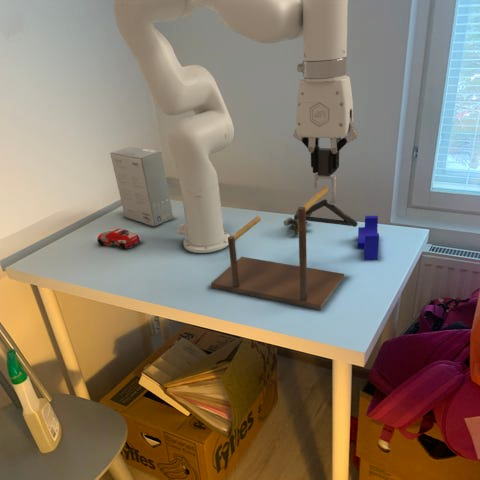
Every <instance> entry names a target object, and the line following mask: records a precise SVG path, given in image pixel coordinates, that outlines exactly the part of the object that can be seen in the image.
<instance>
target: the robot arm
mask: <svg viewBox="0 0 480 480" xmlns="http://www.w3.org/2000/svg"><path fill="white" fill-rule="evenodd" d="M200 7H204V8H205V9H207V10H210V11H212V12H214V13H216V14H217V16H218V18H219V20H221V22H222V23H223V24H224V25H225V26H226V27H227V28H228V29H230V30H231V31H233V32H234V33H236V34H239V35H241V36H243V37H246V38H247V39H250V40H252V41H253V42H257V43H261V44H267V45H269V44H276V43H280V42H285V41H290V40H296V39H299V38H303V60H302V62H301V63H298V64H297V65H296V71H297V72H298V73H302V76H303V77H304V78H302V79H300V80H299V84H298V90H297V98H296V99H297V100H296V109H295V111H296V112H295V129H294V132H293V135H292V136H293V138H294V139H296V140H298V141H299V142H301V143H302V144H303V145H304V146H305V147H306V149H307V151H308V152H309V153H310V167H311V168H312V174H317V172H318V161H317V150H318V149H320V148H321V147H320V139H329V141H330V148H331V153H330V154H329V155H328V173H329V174H332V175H334V173H336V172H337V170H338V169H339V167H340V151H341V150H342V149H343V148H344V147H345V146H346V145H347V144H350V143H352V142H354V141H356V140H357V139H358V138H359V134H358V131H357V129H356V126H355V124H354V101H353V91H352V84H351V77H350V76H347V54H348V53H347V50H348V12H349V11H348V9H349V8H348V7H349V0H114V1H113V11H114V18H115V22H116V26H117V28H118V31H119V33H120V35H121V37H122V39H123V40H124V43H125V44H126V45H127V47H128V49H129V50H130V52H131V54H132V55H133V57H134V59H135V60H136V62H137V64H138V66H139V69H140V71H141V73H142V76H143V78H144V81H145V82H146V84H147V86H148V89H149V91H150V93H151V95H152V97H153V99H154V101H155V103H156V105H157V107H158V109H159V110H160V112H161V113H163V114H164V115H165V116H178V115H182V114H185V113H188V112H191V111H193V113H194V115H191V116H188V117H185V118H182V119H180V120H178V121H176V122H175V123H174V124H173V125H172V126H171V127H170V129H169V132H168V136H167V142H168V147H169V150H170V153H171V156H172V158H173V161H174V164H175V168H176V174H177V177H178V183H179V188H180V195H181V200H182V201H181V202H182V208H183V213H184V220H185V224H184V223H179V224H178V229H177V230H176V234H178V235H183V236H184V240H183V247H184V249H185V250H187V251H188V252H191V253H195V254H207V253H208V254H209V253H214V252H219V251H221V250H223V249H224V248H227V247H229V245H228V237H230V236H231V235H230V233H229V232H226V231H225V229H224V219H223V211H222V203H221V195H220V186H219V177H218V173H217V170H216V167H215V166H214V165H213V163H212V162H211V160H210V157H209V156H212V155H213V154H215V153H217V152H220V151H222V150H225V149H227V148H228V147H229V146H230V145H231V144H232V142H233V140H234V137H235V128H234V124H233V120H232V117H231V115H230V112H229V110H228V107H227V105H226V103H225V100H224V98H223V96H222V94H221V91H220V89H219V87H218V85H217V82H216V80H215V78H214V77H213V75H212V73H210V71H209V70H208V69H206V68H205V67H204V66H201V65H199V64H190V65H184V66H183V65H181V63H180V61H179V60H178V58H177V55H176V53H175V52H174V48H173V46H172V45H171V43H170V42H169V41H168V39H167V38H166V37H165V36H164V35H163V34H162V33H161V32H160V31H159V30H158V29H157V28H156V27H155V24H156V23H165V22H173V21H179V20H181V19H185V18H186V17H188V16H189V15H190V14H192V13H193V12H194V11H196V10H197V9H198V8H200Z"/></svg>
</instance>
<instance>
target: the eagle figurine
mask: <svg viewBox="0 0 480 480" xmlns="http://www.w3.org/2000/svg"><path fill="white" fill-rule="evenodd" d="M296 214H298V209H297V210H296V212H295V215H296ZM312 215H313V212H312V213H310V214H308V215H306V216H311V217H312ZM307 224H308V221H306V225H307ZM289 225H290V226H292V228H289V230H290V231H294V232H293V233H294V234H293V237H296V236H297V235H299V230H298V220H295V219H294V218H293V217H291V216H290V217H287V218H286V219H284V221H283V226H285V227H288V226H289ZM306 232H308V227H306Z"/></svg>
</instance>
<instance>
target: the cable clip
mask: <svg viewBox="0 0 480 480" xmlns="http://www.w3.org/2000/svg"><path fill="white" fill-rule="evenodd" d="M378 224H379V216H378V215H365V216H364V226H361V227H360V226H359V227H358V229H357V230H358V231H357V249H361V250H364V251H363V260H364V261H378V260H379V259H378V258H379V243H380V233H379V232H378V226H379V225H378Z"/></svg>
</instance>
